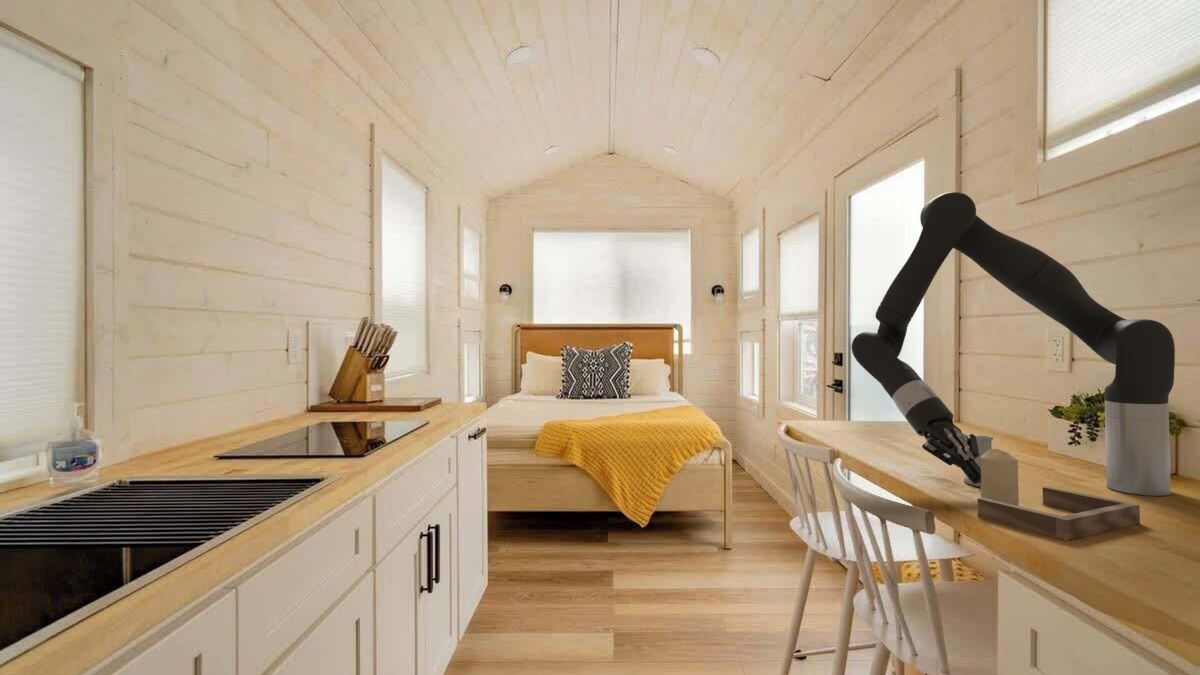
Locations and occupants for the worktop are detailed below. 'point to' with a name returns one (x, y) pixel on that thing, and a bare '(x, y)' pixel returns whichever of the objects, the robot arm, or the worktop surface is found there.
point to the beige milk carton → (999, 476)
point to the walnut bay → (1090, 520)
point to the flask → (980, 453)
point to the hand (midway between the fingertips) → (981, 480)
